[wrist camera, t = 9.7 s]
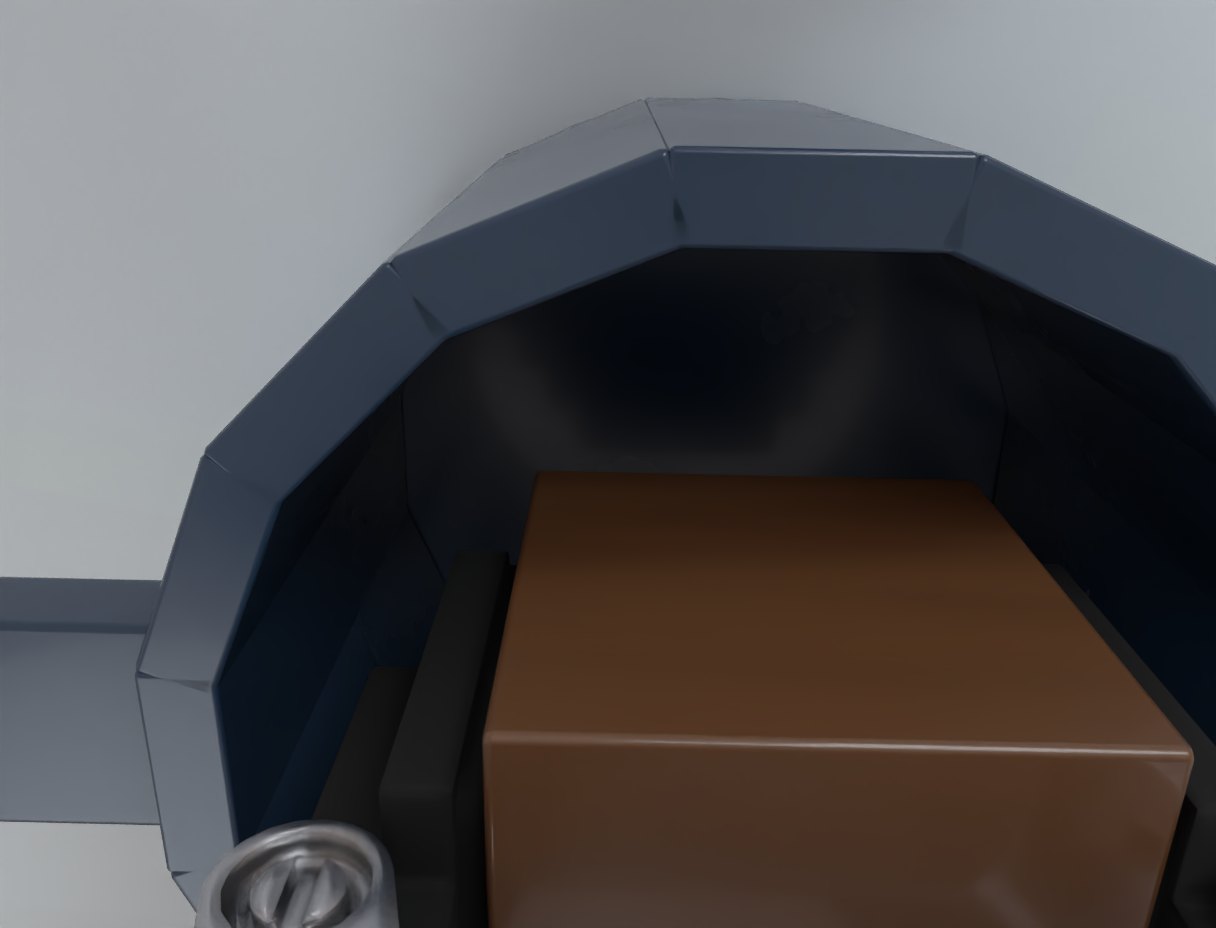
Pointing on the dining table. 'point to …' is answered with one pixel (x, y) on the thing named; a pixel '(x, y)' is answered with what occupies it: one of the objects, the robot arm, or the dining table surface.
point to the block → (810, 717)
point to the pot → (630, 433)
